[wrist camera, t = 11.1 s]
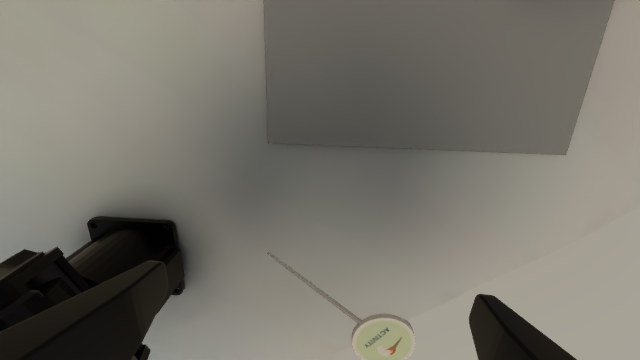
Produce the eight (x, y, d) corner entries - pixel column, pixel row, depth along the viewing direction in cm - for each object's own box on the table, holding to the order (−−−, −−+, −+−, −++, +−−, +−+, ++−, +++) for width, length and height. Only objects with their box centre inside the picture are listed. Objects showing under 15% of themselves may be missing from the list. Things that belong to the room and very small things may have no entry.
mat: (269, 141, 21) (268, 143, 20) (259, -179, 15) (257, -185, 15) (561, 153, 20) (565, 155, 20) (664, -180, 14) (673, -186, 14)
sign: (288, 231, 23) (428, 342, 26) (290, 226, 24) (426, 334, 26) (247, 275, 24) (383, 375, 27) (249, 268, 25) (382, 367, 28)
